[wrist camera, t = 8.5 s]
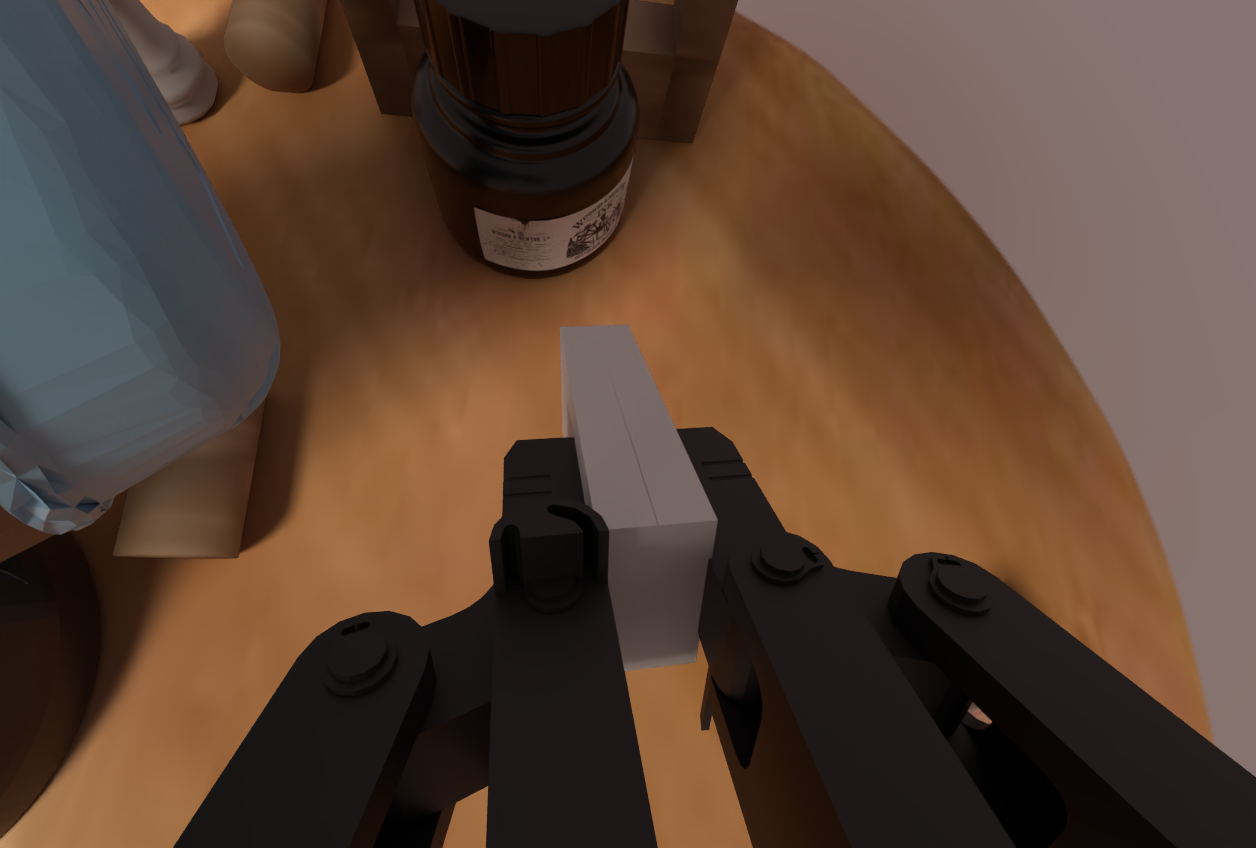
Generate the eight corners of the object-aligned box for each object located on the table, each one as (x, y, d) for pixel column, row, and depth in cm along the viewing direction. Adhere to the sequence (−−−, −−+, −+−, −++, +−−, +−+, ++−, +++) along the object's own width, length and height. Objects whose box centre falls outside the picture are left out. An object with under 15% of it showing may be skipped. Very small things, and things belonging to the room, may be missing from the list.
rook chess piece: (223, 55, 28) (100, -140, 21) (224, 130, 27) (95, -48, 19) (122, 59, 27) (-44, -144, 20) (119, 135, 26) (-58, -47, 19)
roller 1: (250, 558, 23) (219, 555, 19) (141, 558, 22) (89, 554, 18) (278, 393, 25) (254, 364, 21) (179, 384, 23) (138, 353, 20)
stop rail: (381, 113, 28) (318, -59, 21) (387, 66, 29) (329, -117, 22) (692, 142, 30) (739, -5, 23) (690, 97, 31) (735, -59, 24)
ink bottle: (513, 323, 26) (484, 124, 15) (395, 193, 27) (283, -87, 16) (662, 213, 29) (735, -27, 18) (550, 98, 30) (549, -199, 19)
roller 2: (325, 97, 28) (293, 30, 25) (249, 90, 28) (205, 22, 25) (343, -9, 30) (315, -85, 27) (272, -16, 30) (234, -94, 26)
